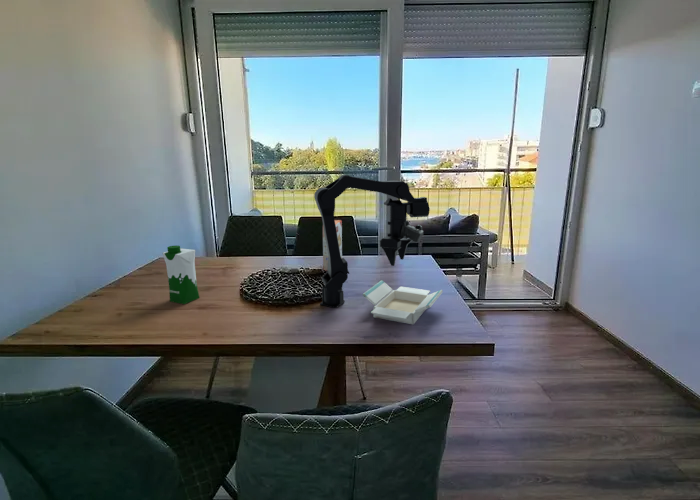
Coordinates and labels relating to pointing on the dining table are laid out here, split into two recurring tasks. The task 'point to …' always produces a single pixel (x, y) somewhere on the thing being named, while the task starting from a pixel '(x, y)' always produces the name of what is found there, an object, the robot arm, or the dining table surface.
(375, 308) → the carton
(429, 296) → the flap
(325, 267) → the cracker box
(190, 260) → the milk carton
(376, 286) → the flap
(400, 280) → the dining table surface
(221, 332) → the dining table surface
